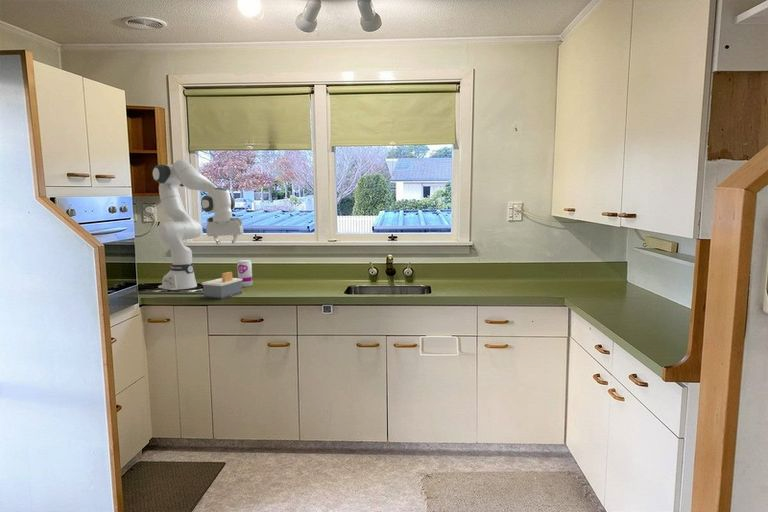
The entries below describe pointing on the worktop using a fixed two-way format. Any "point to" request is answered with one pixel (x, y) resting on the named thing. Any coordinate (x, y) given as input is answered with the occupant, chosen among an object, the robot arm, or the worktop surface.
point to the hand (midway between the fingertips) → (226, 244)
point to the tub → (222, 290)
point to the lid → (223, 280)
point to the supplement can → (245, 272)
